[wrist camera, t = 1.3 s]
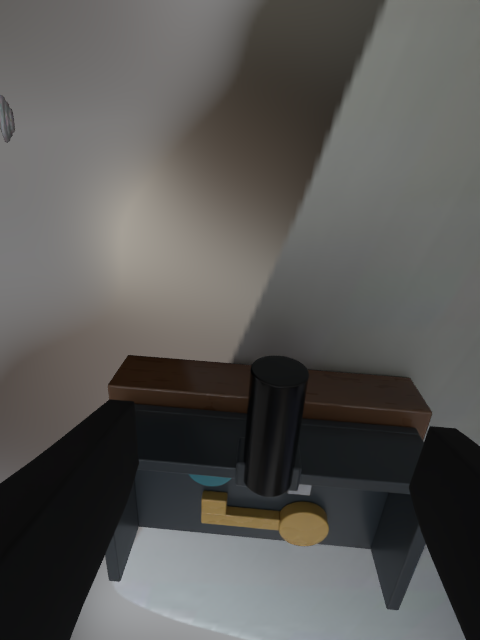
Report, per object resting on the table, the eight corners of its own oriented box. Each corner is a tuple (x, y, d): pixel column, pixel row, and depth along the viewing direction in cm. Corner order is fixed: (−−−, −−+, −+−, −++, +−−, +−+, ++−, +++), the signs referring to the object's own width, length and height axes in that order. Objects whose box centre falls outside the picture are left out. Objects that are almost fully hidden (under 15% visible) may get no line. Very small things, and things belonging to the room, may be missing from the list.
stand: (375, 495, 20) (389, 540, 18) (137, 473, 20) (121, 514, 18) (410, 377, 17) (433, 412, 14) (127, 354, 17) (106, 384, 15)
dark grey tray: (378, 542, 18) (409, 648, 14) (131, 518, 18) (95, 615, 14) (447, 332, 13) (522, 406, 9) (110, 306, 13) (49, 367, 10)
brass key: (331, 501, 16) (333, 513, 16) (323, 536, 17) (325, 549, 16) (203, 489, 16) (200, 501, 16) (202, 524, 17) (200, 536, 17)
